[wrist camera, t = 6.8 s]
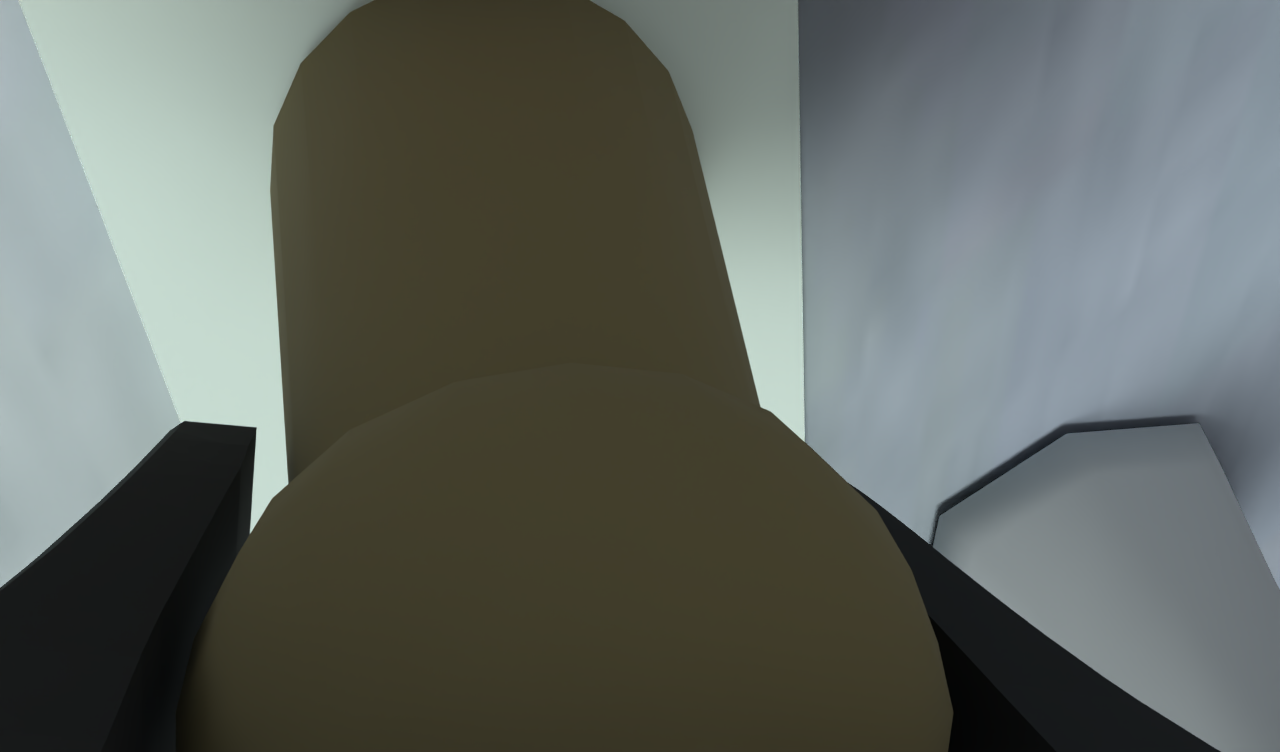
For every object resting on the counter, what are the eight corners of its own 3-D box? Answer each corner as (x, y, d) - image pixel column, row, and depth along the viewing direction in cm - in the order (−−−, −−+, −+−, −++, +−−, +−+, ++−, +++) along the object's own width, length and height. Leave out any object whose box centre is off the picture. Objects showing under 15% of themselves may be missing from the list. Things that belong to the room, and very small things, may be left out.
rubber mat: (246, 563, 18) (242, 582, 18) (16, -45, 13) (3, -40, 13) (796, 459, 19) (804, 474, 19) (784, -139, 14) (796, -137, 14)
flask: (1227, 618, 24) (1677, 1081, 15) (933, 724, 24) (1220, 1250, 15) (1233, 363, 20) (1832, 790, 12) (883, 488, 20) (1226, 1010, 12)
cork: (729, 302, 17) (1098, 1034, 8) (368, 412, 17) (320, 1279, 8) (644, -89, 13) (1140, 422, 4) (186, 47, 13) (-298, 863, 4)
